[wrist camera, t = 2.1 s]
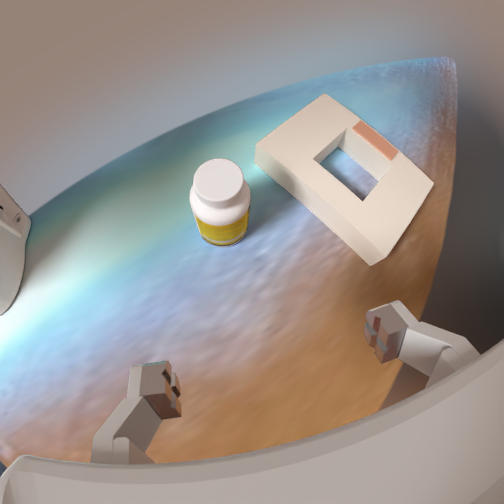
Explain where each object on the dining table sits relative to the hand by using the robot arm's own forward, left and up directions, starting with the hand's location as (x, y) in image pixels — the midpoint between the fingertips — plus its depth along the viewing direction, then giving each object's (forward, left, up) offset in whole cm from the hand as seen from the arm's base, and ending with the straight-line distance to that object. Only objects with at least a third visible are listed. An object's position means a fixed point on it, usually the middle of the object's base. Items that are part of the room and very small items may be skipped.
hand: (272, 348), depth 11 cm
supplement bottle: (-11, +7, -19) cm, 22 cm away
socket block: (-5, +21, -18) cm, 28 cm away
